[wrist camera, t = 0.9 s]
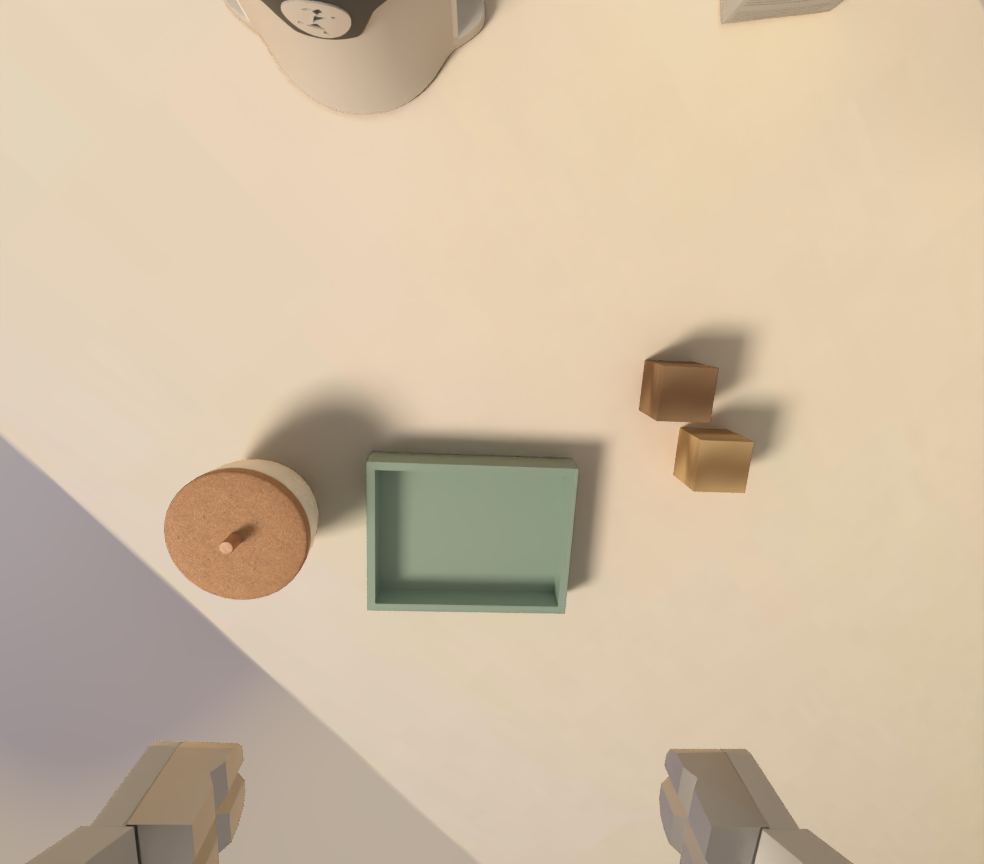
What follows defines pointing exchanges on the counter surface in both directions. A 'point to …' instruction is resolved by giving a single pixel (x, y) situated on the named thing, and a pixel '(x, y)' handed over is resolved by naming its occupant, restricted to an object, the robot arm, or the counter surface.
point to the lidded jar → (242, 528)
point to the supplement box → (771, 8)
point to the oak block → (713, 460)
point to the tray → (469, 532)
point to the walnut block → (678, 391)
